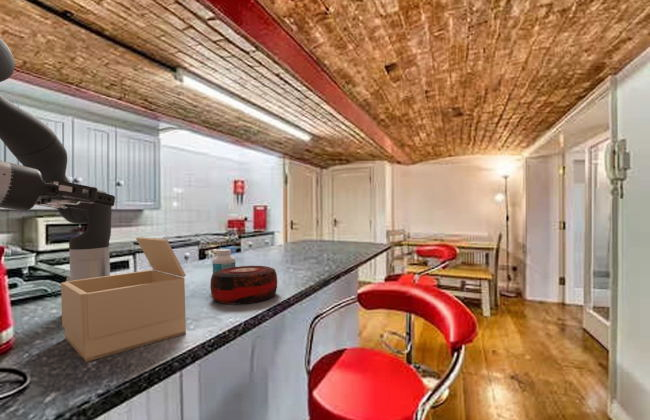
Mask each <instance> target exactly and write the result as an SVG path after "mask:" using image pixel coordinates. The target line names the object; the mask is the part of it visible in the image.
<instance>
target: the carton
mask: <svg viewBox="0 0 650 420" xmlns="http://www.w3.org/2000/svg"><path fill="white" fill-rule="evenodd" d="M185 288H186V287H185V277H181V276H177V275H173V274H168V273H164V272H160V271H156V270H153V269H148V270H140V271H133V272H126V273H119V274H113V275H111V274H110V276H103V277H96V278H88V279H81V280H73V281H67V280H65V281H63V282H60V291H61V292H60V295H61V296H60V297H61V325H62V327H63V328H64V333H65V334H64V339H65V340H66V341H67V343H68V344H70V346H71V347H72V348H73V349H74V351H75V352H76V353H77V354H78V355H79V356H80V357H81V358H82V359H83V361H84V363H88V362H91V361H94V360H98V359H102V358H105V357H109V356H113V355H116V354H119V353H123V352H126V351H130V350H134V349H137V347H138V348H141V347H144V345H145V346H147V345H151V344H152V345H153V344H155V343H158V342H163V341H166V340H169V338H170V339H173V338H176V337H181V336H184V335H186V334H187V322H186V321H187V320H186V289H185Z"/></svg>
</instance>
